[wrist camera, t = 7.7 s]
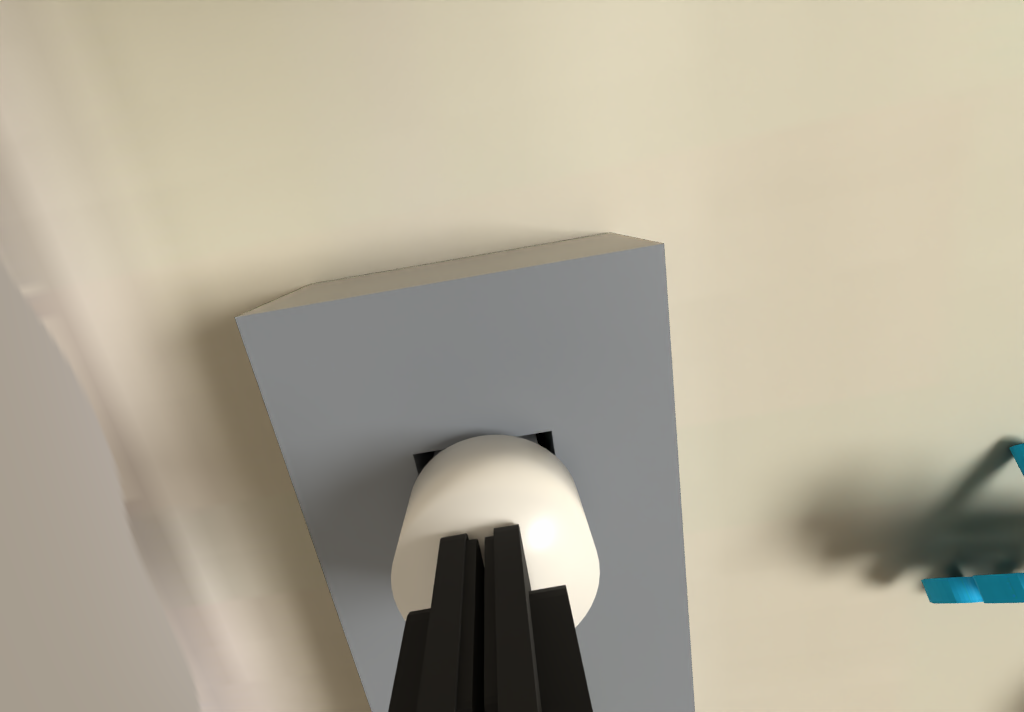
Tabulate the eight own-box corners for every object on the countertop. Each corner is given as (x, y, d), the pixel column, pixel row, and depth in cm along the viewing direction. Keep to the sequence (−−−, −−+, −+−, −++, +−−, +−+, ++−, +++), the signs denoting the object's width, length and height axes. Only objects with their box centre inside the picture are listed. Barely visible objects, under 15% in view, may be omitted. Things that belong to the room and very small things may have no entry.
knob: (418, 380, 17) (367, 510, 9) (544, 358, 17) (587, 472, 9) (444, 490, 18) (417, 675, 11) (561, 470, 18) (609, 641, 11)
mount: (311, 283, 16) (234, 317, 11) (610, 232, 16) (664, 243, 11) (470, 831, 24) (466, 984, 19) (666, 797, 24) (710, 942, 19)
